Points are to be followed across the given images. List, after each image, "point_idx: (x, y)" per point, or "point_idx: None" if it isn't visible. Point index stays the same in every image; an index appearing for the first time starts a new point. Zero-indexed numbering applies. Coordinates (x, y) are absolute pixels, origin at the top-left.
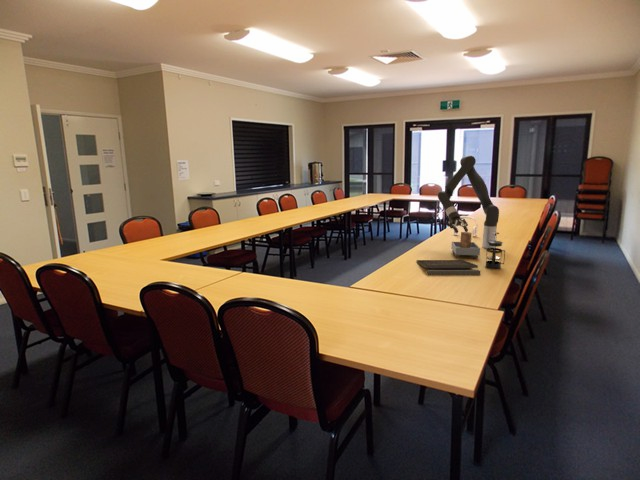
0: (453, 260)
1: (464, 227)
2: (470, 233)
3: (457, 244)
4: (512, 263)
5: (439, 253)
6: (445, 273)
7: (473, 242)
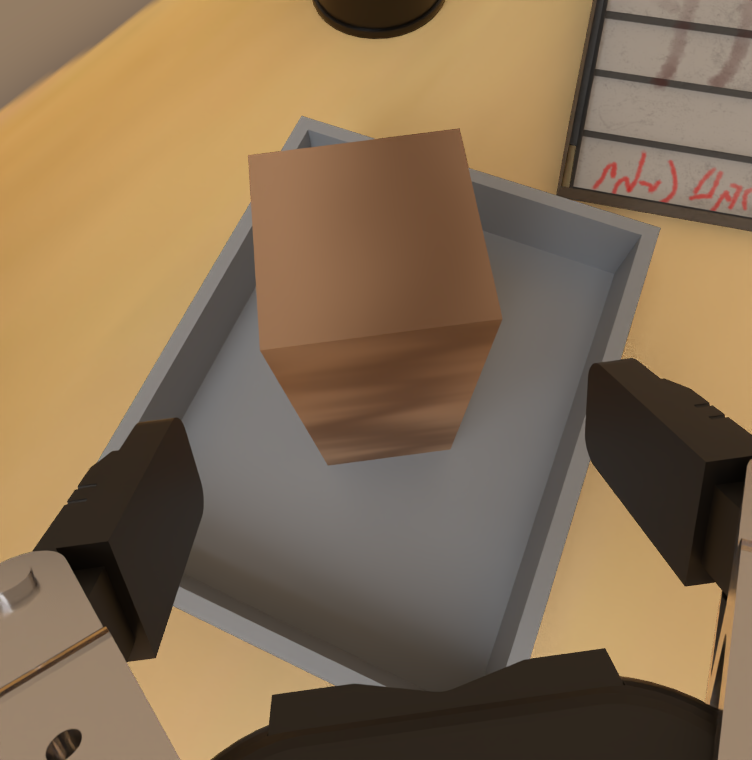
0: (680, 208)
1: (135, 590)
2: (291, 159)
3: (379, 672)
4: (102, 52)
5: (707, 670)
6: None
7: None
